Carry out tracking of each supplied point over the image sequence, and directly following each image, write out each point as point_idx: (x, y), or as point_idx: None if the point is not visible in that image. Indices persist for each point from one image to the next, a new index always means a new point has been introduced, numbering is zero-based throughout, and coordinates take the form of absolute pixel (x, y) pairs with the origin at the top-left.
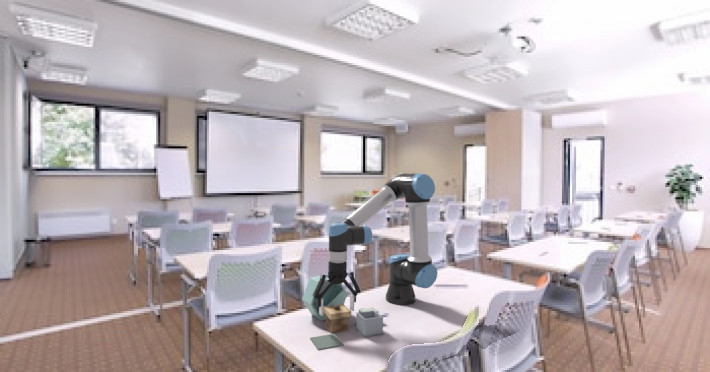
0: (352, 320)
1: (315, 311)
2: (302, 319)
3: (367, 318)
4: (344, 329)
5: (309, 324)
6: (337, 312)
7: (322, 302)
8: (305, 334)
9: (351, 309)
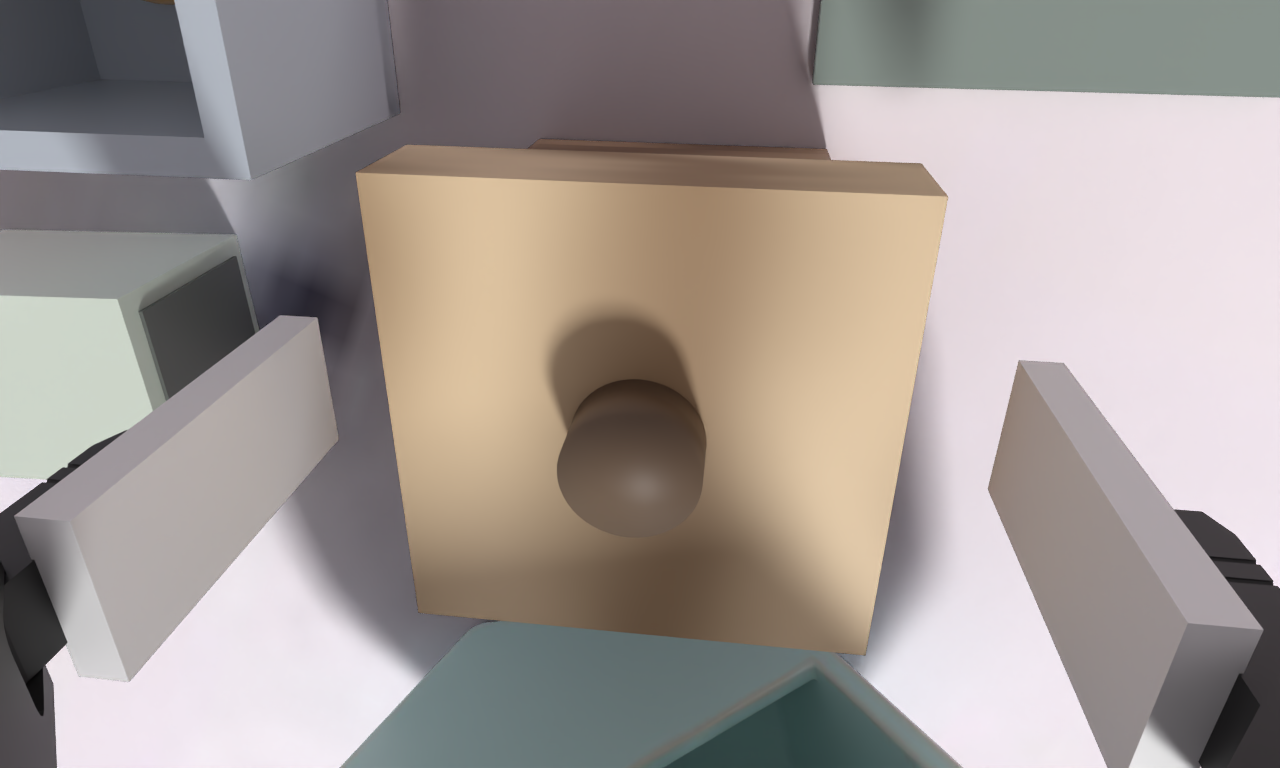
0: (360, 433)
1: (887, 706)
2: (979, 715)
3: (99, 102)
4: (594, 146)
5: (976, 559)
6: (722, 231)
7: (1170, 552)
8: (1230, 285)
9: (316, 371)
